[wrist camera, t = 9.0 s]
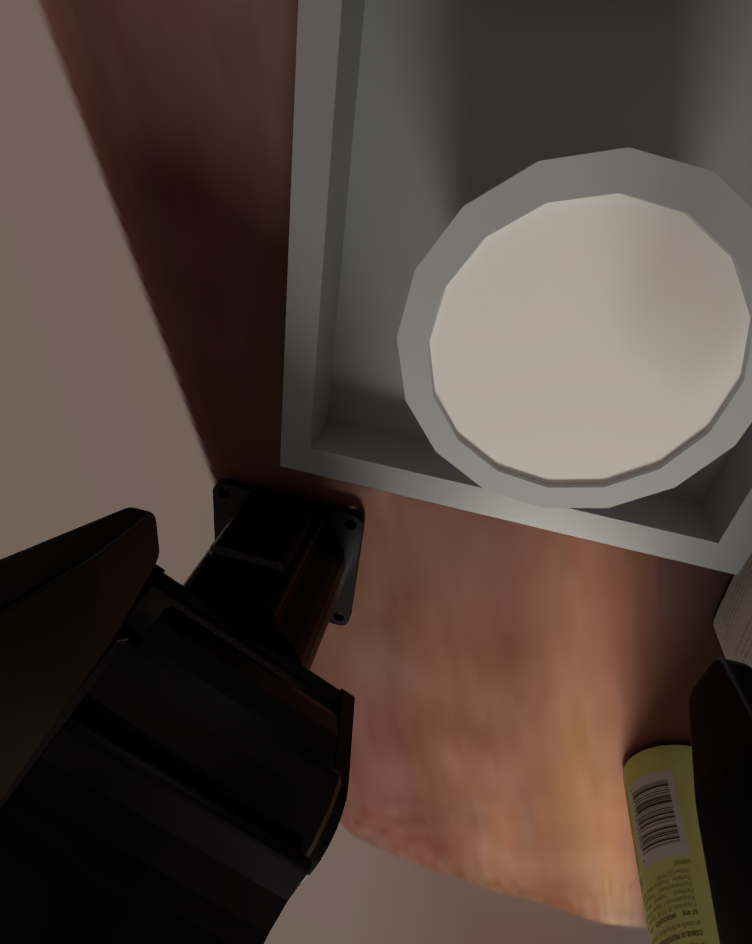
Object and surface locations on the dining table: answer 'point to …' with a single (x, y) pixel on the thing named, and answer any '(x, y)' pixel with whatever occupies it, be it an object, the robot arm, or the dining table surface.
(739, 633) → the supplement box
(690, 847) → the tube
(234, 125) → the dining table surface
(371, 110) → the tray
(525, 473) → the white cup
